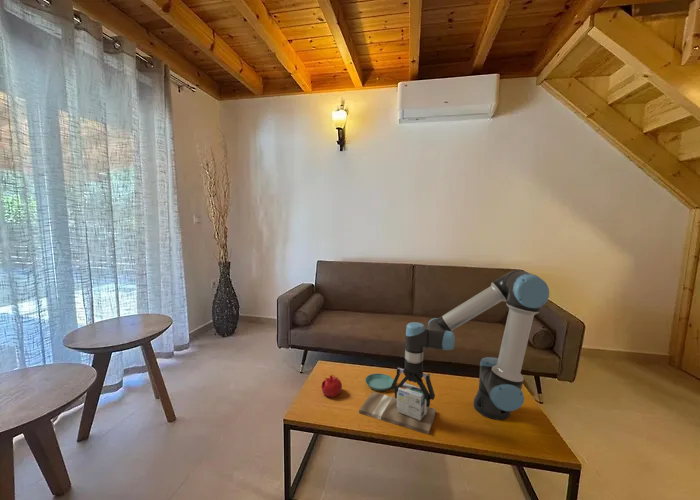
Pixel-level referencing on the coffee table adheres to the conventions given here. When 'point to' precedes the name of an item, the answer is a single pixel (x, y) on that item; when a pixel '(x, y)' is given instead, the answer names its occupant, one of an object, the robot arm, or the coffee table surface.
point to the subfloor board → (395, 413)
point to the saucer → (379, 381)
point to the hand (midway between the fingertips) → (411, 409)
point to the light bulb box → (411, 401)
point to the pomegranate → (331, 386)
